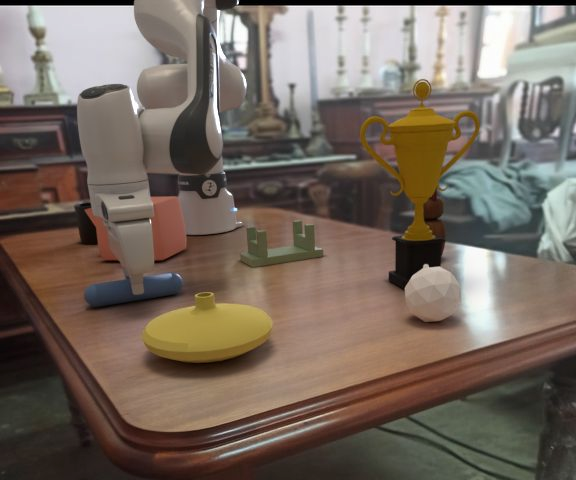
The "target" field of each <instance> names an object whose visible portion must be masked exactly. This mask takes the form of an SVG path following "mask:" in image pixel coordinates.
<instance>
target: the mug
mask: <svg viewBox="0 0 576 480" xmlns="http://www.w3.org/2000/svg"><path fill="white" fill-rule="evenodd" d="M89 208H92V206H91V201H89V202H82V203H78V204H75V205H74V212H75V218H76V223H77V229H78V235H79V240H80V243H82V244H84V245H98V239H97V231H96V227H95V225H94V224H93V222H92V221H91V219H90V218H89V216H88V215H87V213H86V212H85V209H89Z"/></svg>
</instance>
